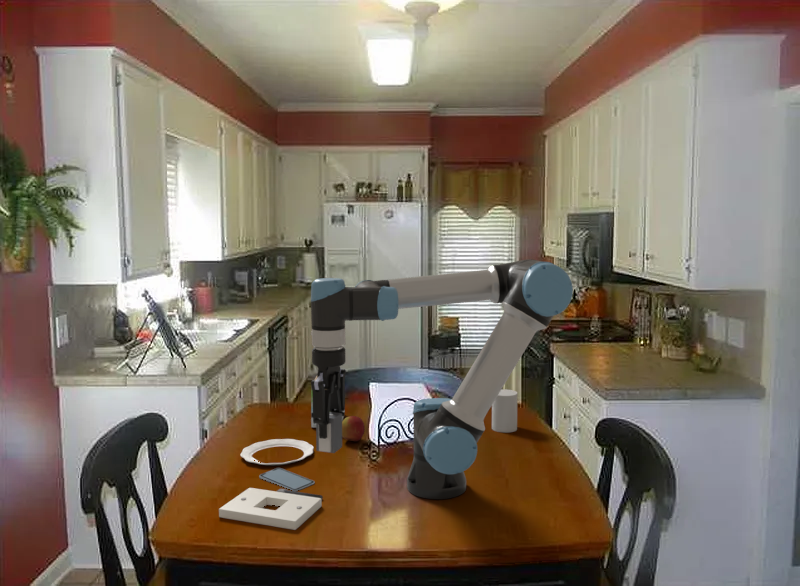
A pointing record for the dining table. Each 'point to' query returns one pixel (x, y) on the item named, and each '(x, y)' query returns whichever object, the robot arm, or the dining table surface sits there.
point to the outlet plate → (286, 516)
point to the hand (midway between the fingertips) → (330, 447)
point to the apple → (352, 428)
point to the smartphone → (286, 479)
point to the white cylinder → (505, 411)
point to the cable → (300, 493)
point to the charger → (333, 432)
